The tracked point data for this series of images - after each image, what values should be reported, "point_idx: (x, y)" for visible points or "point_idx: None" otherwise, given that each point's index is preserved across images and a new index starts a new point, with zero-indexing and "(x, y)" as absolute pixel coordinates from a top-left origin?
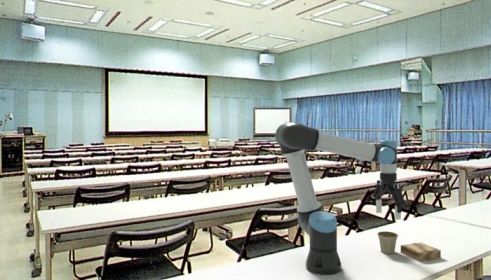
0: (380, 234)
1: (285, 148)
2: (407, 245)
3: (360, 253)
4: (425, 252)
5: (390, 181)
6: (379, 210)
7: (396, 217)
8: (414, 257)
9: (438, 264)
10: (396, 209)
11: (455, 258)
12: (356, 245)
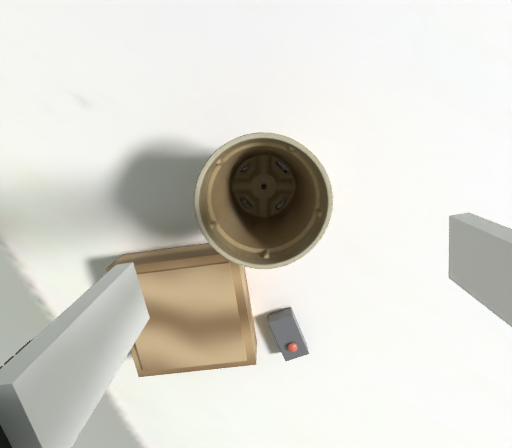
0: (318, 179)
1: None
2: (218, 279)
3: (276, 23)
4: None
5: None
6: (467, 261)
7: (104, 281)
8: (147, 253)
9: None
10: (36, 345)
11: (139, 396)
12: (403, 64)
